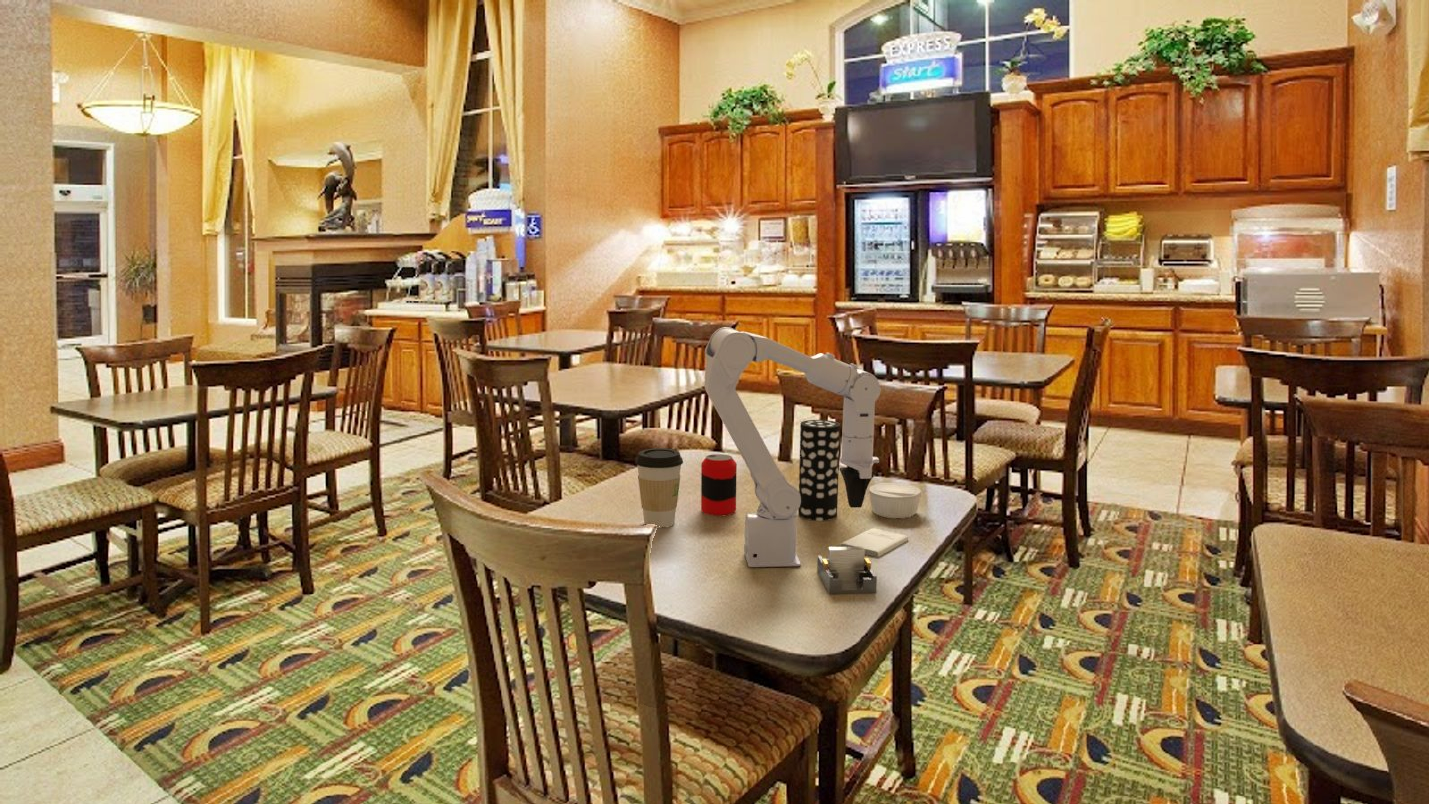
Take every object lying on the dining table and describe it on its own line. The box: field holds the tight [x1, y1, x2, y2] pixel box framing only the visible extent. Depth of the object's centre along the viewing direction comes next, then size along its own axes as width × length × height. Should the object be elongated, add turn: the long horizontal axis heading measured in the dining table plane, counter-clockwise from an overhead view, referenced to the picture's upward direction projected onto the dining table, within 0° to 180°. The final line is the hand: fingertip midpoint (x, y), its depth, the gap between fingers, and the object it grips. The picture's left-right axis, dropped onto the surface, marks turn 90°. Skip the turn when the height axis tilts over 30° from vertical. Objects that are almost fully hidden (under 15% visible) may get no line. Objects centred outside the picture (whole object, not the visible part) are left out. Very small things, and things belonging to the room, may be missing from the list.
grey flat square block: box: [827, 546, 866, 580], centre depth 157 cm, size 6×2×6 cm, turn 94°
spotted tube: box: [797, 419, 841, 522], centre depth 194 cm, size 8×8×20 cm
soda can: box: [700, 453, 738, 517], centre depth 197 cm, size 8×8×12 cm
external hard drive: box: [839, 527, 909, 558], centre depth 178 cm, size 2×8×12 cm
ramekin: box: [868, 482, 922, 519], centre depth 198 cm, size 11×11×5 cm
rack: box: [816, 554, 878, 595], centre depth 158 cm, size 8×10×4 cm
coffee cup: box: [634, 447, 684, 528], centre depth 188 cm, size 10×10×15 cm
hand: (855, 506), depth 170 cm, fingers closed
